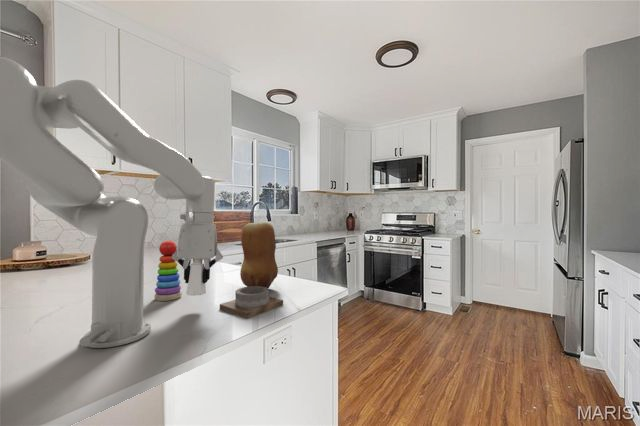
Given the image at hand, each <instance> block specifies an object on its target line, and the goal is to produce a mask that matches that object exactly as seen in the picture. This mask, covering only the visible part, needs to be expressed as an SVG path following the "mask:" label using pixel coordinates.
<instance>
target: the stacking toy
mask: <svg viewBox="0 0 640 426" xmlns="http://www.w3.org/2000/svg"><path fill="white" fill-rule="evenodd" d="M177 247H178V245H177V244H176V243H175V242H174V241H172V240H165V241H163V242H161V244H160V245H159V247H158V248H159V249H158V250H159V253H160V254H161V256H160V257H159V264H158V270H157V274H158V275H157V277H156V279H157V281H156V283H155V285H156V288H155V290H154V292H155V295H153V296H154V300H156V301H158V302H167V301H169V302H170V301H174V300H177V299H179V298H180V297H181V296H182V295H183V292H182V291H181V289H182V287H181V285H180V284H181V279H180V274H179V267H177V266H178V262H177V261H175V260H174V259H172V256H173V254H174V253H175V252H176V250H177Z"/></svg>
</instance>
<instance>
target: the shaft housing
mask: <svg viewBox="0 0 640 426" xmlns="http://www.w3.org/2000/svg"><path fill="white" fill-rule="evenodd" d="M269 292H270V288H266V287H261V286H250V287H247V286H243V287H240V288H237V289H236V290H235V295H234V296H235V299H233V300H229V301H225V302H222V303H219V310H221V311H224V312H226V313H230V314H232V315H236V316H239V317H242V318H246V319H249V318H252V317H255V316H257V315H261V314H262V313H265V312H268V311H271V310H273V309H276V308H278V307H279V308H280V307H282V306H283V305H284V300H283V299H280V298H276V297H274V296H273V297H272V296H269V295H270V293H269Z"/></svg>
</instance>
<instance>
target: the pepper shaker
mask: <svg viewBox="0 0 640 426" xmlns="http://www.w3.org/2000/svg"><path fill="white" fill-rule="evenodd" d="M203 261H204V259H192V262H191V264H190V274H189V282H188V283H187V286H186V287H187V288H186V293H185V294H186V295H187V296H195V297H196V296H202V295H205V294H206V293H207V290H206V288H207V287H206V283H202V279H203V269H204V267H205V264H204V262H203Z"/></svg>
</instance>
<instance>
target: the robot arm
mask: <svg viewBox="0 0 640 426" xmlns="http://www.w3.org/2000/svg"><path fill="white" fill-rule="evenodd" d="M48 128H53V129H77V128H78V129H79V128H80V129H81V130H82V131H83V132H84V133H86V134H87V135H88V136H89V137H91V138H93V140H94V141H96V142H97V143H98V144H99V145H101V146H102V147H103V148H104V149H106V150H107V151H108V152H109V153H111V155H113V156H114V157H115V158H117V159H119V160H120V161H124V162H126V163H129V164H132V165H136V166H141V167H143V168H146V169H148V170H151V171H153V172H156V173H157V174H159V175H158V176H156V178H155V179H154V181H153V188H154V192H156V194H157V195H158V196H159V197H161V198H163V199H166V200H171V201H174V200H185V212H184V213H183V214H180V215H179V218H180V220H183V221H184V223H183V222H182V223H181V226H180V229H179V235H178V239H177V241H178V242H177V250H176V252H175V253H174V254H173V256H172V259H174V260H175V262H177V264H179V265H180V266H181V267H182V269H183V280H184V281H185V282H184V283H185V284H188V282H189V274H190V266H191V264H192V261H193V259H203V264H204V269H203V279H202V283H205V284H206V283H207V282H208V280H210V277H211V275H210V274H211V268H212V267H213V266H214V265H215V264H217V263H218V262H219V261H221V260H223V259H224V256H223V254H222V253H221V251H220V250H219V248H218V233H217V227H216V223H214V213H215V210H214V209H215V190H216V189H215V188H216V182H215V180H214V178H212V177H210V176H205V175H202V173H201V172H200V171H199V169H197V167H196V166H195V165H194V164H193V163H192V162H191V161H190V160H189V159H188V158H187V157H186V156H184V155H183V154H182V153H180V152H179V151H177V150H176V149H175V148H173V147H170V146H169V145H167V144H166V143H164V142H162V141H160V140H159V139H157V138H156V137H155V138H154V137H153V136H151V135H149V134H147V133H146V132H145V131H144V130H143V129H142V128H141V127H140V126H138V125H137V123H135V121H134V120H132V119H131V118H130V117H129V116H128V115H127V114H126V113H125V112H124V111H123V110H122V109H120V107H119V106H118V105H117V104H115V103H114V102H113V100H112V99H110V98H109V97H108V96H107V95H106V94H105V93H104V92H103V91H102V90H101V89H100V88H99V87H97V86H96V85H95V84H93V83H92V82H89V81H86V80H83V79H71V80H68V81H64V82H61V83H59V84H57V85H55V86H43V85H40V84H37V81H36V80H35V78H34V76H33V75H32V74H31V73H30V71H28V70H27V68H25V67H24V66H22V64H20V63H18V62H17V61H15V60H13V59H11V58H8V57H4V56H0V161H1V162H2V163H4V164H5V165H7V166H8V167H9V168H11V169H12V170H14V172H16V173H17V174H18V175H20V176H21V177H23V178H25V180H26V181H25V184H26V185H25V186H26V190H27V192H28V194H29V195H30V197H31V198H32V199H33V200H34V201H35V202H36V203H38V204H39V205H40V206H42V207H43V208H45V209H46V210H48V211H49V212H51V213H52V214H54V215H55V216H57V217H59V218H60V219H61V220H63V221H65V222H67V223H68V224H69V225H70V226H72V227H74V228H76V229H77V230H79V231H81V232H82V233H85V234H86V235H89V236H92V237H96V239H95V243H94V245H93V246H94V247H93V252H92V257H91V258H92V261H91V270H92V271H91V272H92V273H91V275H92V276H91V277H92V279H91V281H92V282H91V283H92V285H91V287H92V288H91V289H92V290H91V293H92V294H91V295H92V296H91V310H92V311H91V325H90V331H88V332H87V333H85V334H84V335H83V336H82V338H80V339H79V344H80V346H82V347H85V348H86V347H87V348H91V349H106V348H113V347H119V346H123V345H127V344H130V343H133V342H135V341H138V340H140V339H142V338H144V337H145V336H147V335H148V334H149V333H150V332H151V328H152V325H151V324H150V322H148V321H145V320H144V285H145V283H144V277H145V274H144V273H145V272H144V270H145V267H144V261H145V259H144V255H145V254H144V253H145V243H146V236H147V232H148V227H149V214H148V211H147V208H146V207H145V206H144V205H143V204H142V203H141V202H140V201H138V200H137V199H135V198H132V197H129V196H122V195H121V196H120V195H119V196H118V195H117V196H116V195H115V196H106V195H104V194H103V193H104V188H105V184H104V180H103V179H102V177H101V175H100V174H99V173H98V172H97V171H96V170H95V169H94V168H93V167H91V166H90V165H89V164H88V163H86V162H85V161H84V160H83V159H81V158H80V157H79V156H77V155H76V154H75V153H74V152H72V150H70V148H67V147H66V146H65V145H64V144H62V143H61V141H59V140H58V139H57V138H56V137H55V136H54V135H53V134H52V133H50V131H48ZM212 258H213V259H212ZM211 259H212V260H211Z"/></svg>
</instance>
